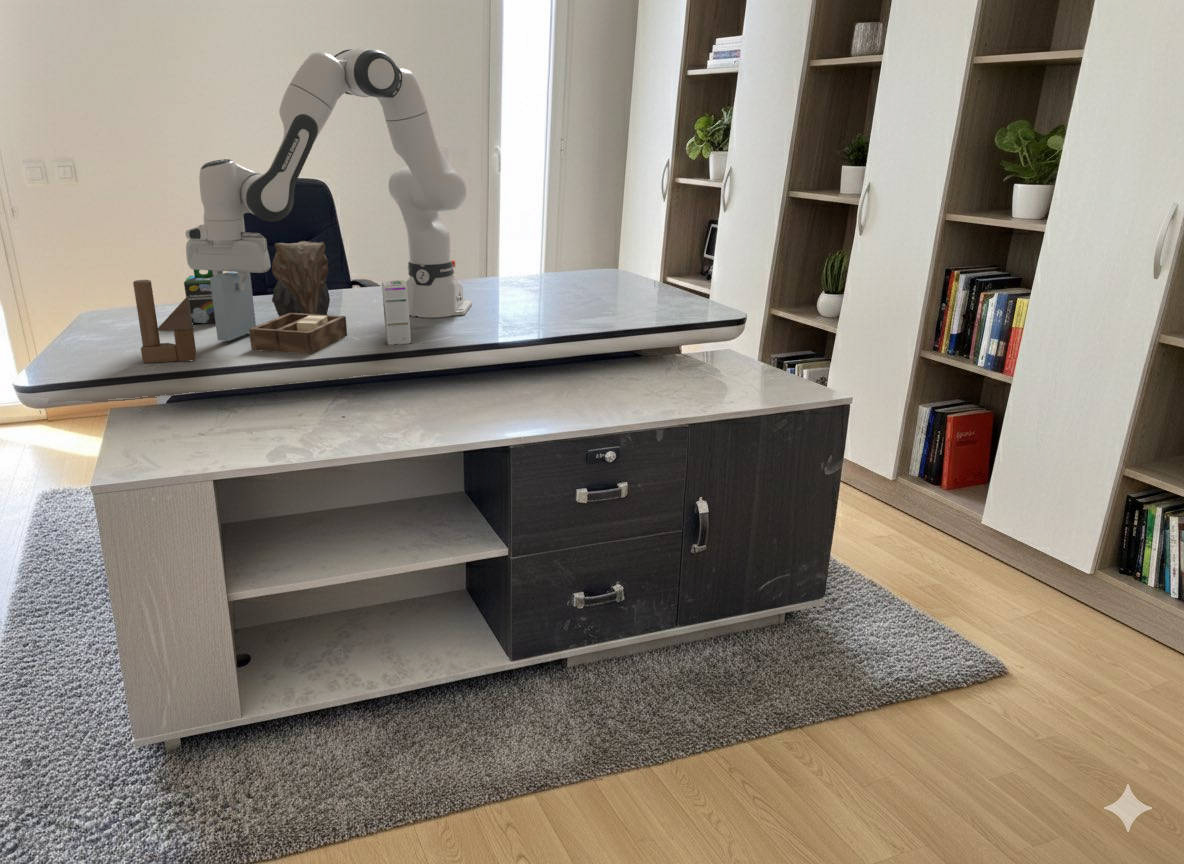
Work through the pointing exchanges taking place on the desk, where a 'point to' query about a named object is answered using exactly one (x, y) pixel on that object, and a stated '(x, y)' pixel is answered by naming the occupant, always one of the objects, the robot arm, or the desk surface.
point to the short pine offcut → (311, 322)
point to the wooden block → (163, 328)
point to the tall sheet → (232, 306)
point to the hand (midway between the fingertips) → (232, 289)
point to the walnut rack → (296, 334)
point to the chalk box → (200, 297)
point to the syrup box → (396, 312)
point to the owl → (300, 278)
